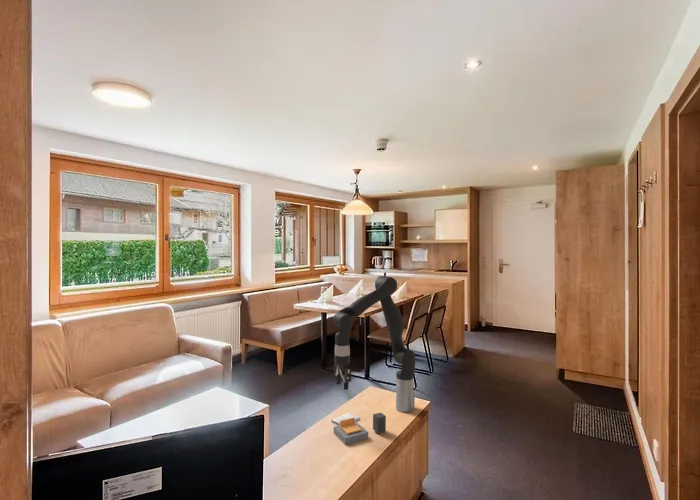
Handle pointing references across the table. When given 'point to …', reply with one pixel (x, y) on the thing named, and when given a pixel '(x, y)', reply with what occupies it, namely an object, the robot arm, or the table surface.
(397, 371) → the robot arm
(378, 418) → the plug
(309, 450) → the table surface
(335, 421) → the hard drive
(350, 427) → the panel
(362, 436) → the socket
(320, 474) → the table surface
